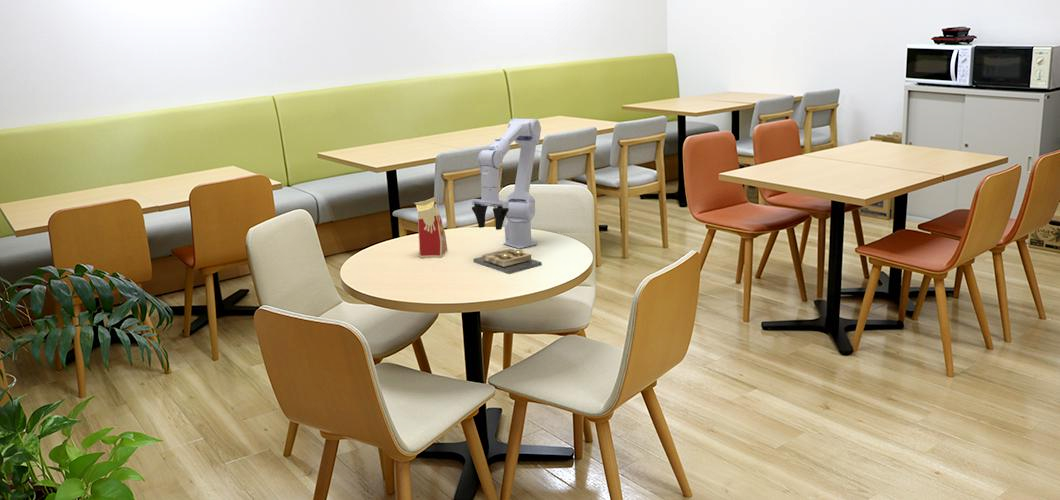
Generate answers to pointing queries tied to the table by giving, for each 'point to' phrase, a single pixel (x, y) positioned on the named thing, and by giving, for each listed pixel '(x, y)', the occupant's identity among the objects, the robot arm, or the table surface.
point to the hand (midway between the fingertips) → (490, 228)
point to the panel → (513, 259)
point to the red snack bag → (430, 230)
